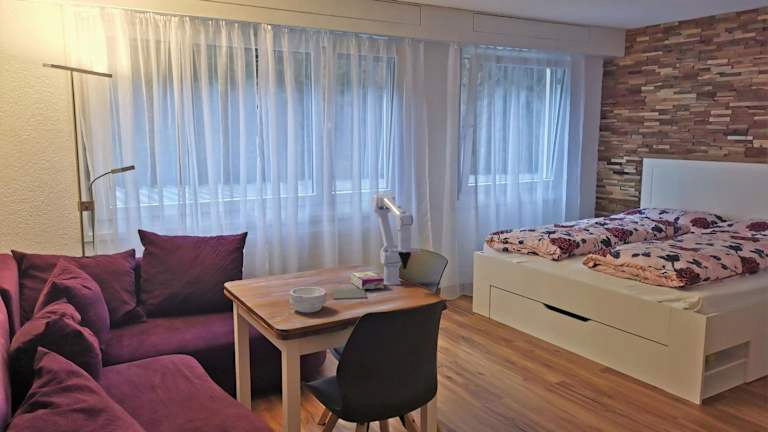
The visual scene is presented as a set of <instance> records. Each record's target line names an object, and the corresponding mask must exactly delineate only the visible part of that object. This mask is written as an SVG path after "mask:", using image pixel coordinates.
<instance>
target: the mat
mask: <svg viewBox="0 0 768 432" xmlns="http://www.w3.org/2000/svg"><path fill="white" fill-rule="evenodd" d="M332 296H333V300H355V299H356V300H358V299H363V300H364V299H367V298H368V296H367V294H366V291H365V290H362V289H360V288H349V289H348V288H347V289H346V288H344V289H343V288H342V289H332Z"/></svg>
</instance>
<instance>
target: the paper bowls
mask: <svg viewBox="0 0 768 432" xmlns="http://www.w3.org/2000/svg"><path fill="white" fill-rule="evenodd" d="M327 293H328V292H327V290H326V289H325V288H323V287H316V286H301V287H296V288H293V289H290V291H289V304H290V305H291V306H292V307H294V308H295V311H297V312H299V313H305V314H307V313H315V312H318V311H320V310H321V309H322V307H323V306H324V305H326V303H327V296H328V294H327Z"/></svg>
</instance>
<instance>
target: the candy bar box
mask: <svg viewBox="0 0 768 432" xmlns="http://www.w3.org/2000/svg"><path fill="white" fill-rule="evenodd" d="M350 283H351V284H353V285H354V286H355V287H357V288H358V289H362V290H364V291H365V290H377V289H379V290H380V289H385V285H384V277H382V276H380V275H378V274H376V273H374V272H373V271H362V272H351V273H350Z"/></svg>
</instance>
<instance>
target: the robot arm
mask: <svg viewBox="0 0 768 432" xmlns="http://www.w3.org/2000/svg"><path fill="white" fill-rule="evenodd" d="M395 199H396V198H395V196H394V194H393V193H388V194H387V193H384V194H381V193H380V194H374V195H373V196H372V202H371V203H372V206H373V207H372V208H373V211H374V213H375V214H376V215H377V218H378V222H379V228H380V233H381V237H382V238H381V239H382V242H383V245H384V246H383V247H382V248H381V249H380V251H379V254H380V255H379V256H380V257H379V259H380V262H381V264H382V266H383V279H384V286H391V285H393V286H394V285H401V284H402V283H401V281H400V266H401V265H402V270H407V268H408V263H409V260H410V258H411V256H412V254H420V253H421V252H422V251H421V248H420V247H412V242H411V240H412V236H411V235H412V226H413V224H414V217H413V214H412V212H407V211H406V210H405V209H404V207H402V206H401V205H399V204H397V202H396V201H395ZM389 214H391V215H392V216H393V217H394V219H395V222H396V223H395V224H396V228H397V231H398V232H397V236H398V237H397V241H398V242H397V243H398V244H397V245H396V244H395V242H394V237H393V233H392V227H391V224H390V218H389Z"/></svg>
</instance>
